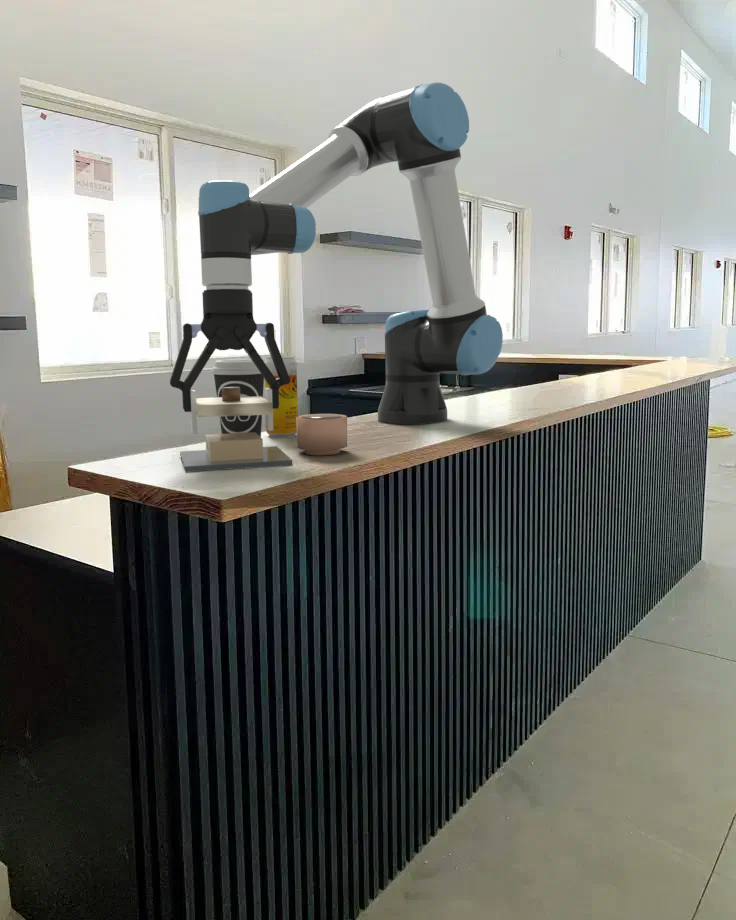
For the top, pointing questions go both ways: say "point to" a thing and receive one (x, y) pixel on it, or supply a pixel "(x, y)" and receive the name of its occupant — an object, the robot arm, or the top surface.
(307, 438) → the bowl
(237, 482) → the top surface
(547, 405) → the top surface
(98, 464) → the top surface
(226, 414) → the lid
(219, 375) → the coffee cup
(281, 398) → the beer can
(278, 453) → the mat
